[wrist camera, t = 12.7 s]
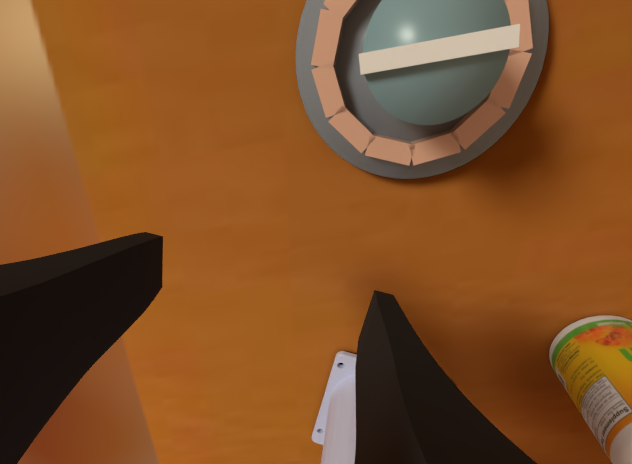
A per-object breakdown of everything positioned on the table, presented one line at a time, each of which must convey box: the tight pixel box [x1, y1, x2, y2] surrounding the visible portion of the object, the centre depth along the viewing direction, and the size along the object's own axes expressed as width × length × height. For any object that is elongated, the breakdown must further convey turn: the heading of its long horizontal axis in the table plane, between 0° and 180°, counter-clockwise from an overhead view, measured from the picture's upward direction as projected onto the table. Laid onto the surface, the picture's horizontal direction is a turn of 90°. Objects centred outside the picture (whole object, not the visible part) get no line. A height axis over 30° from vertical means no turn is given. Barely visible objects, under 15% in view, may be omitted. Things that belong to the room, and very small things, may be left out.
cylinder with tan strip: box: [359, 0, 520, 125], centre depth 13 cm, size 5×4×6 cm
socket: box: [296, 0, 549, 179], centre depth 16 cm, size 11×11×2 cm
